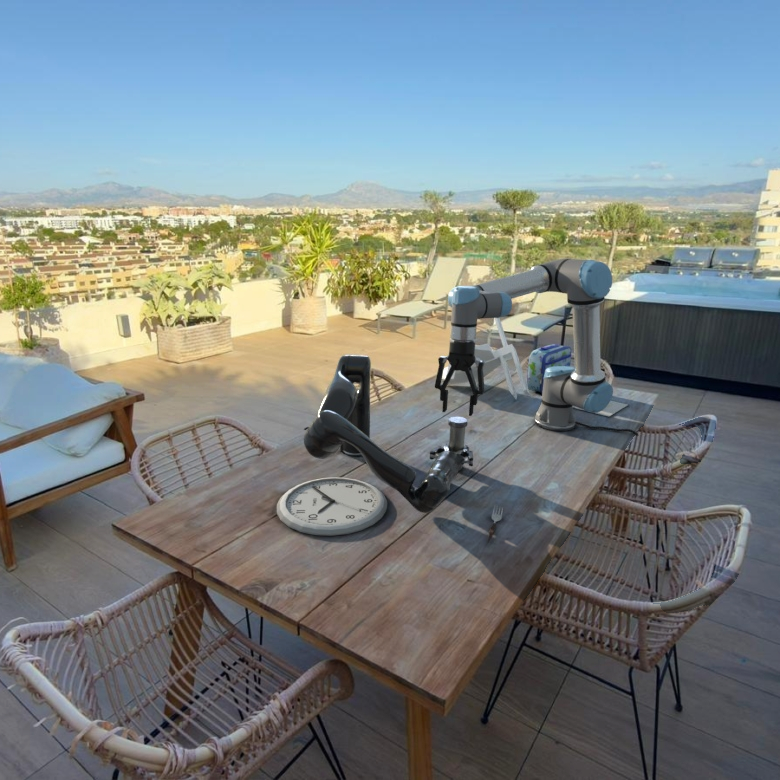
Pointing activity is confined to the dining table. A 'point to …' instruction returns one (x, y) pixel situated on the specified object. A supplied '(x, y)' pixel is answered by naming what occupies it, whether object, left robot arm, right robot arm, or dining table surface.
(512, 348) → the white plastic object
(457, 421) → the lid
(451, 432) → the jar
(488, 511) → the dining table surface
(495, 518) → the fork
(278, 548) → the dining table surface
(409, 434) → the dining table surface
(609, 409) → the invitation card
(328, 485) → the wall clock
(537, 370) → the lunch box
